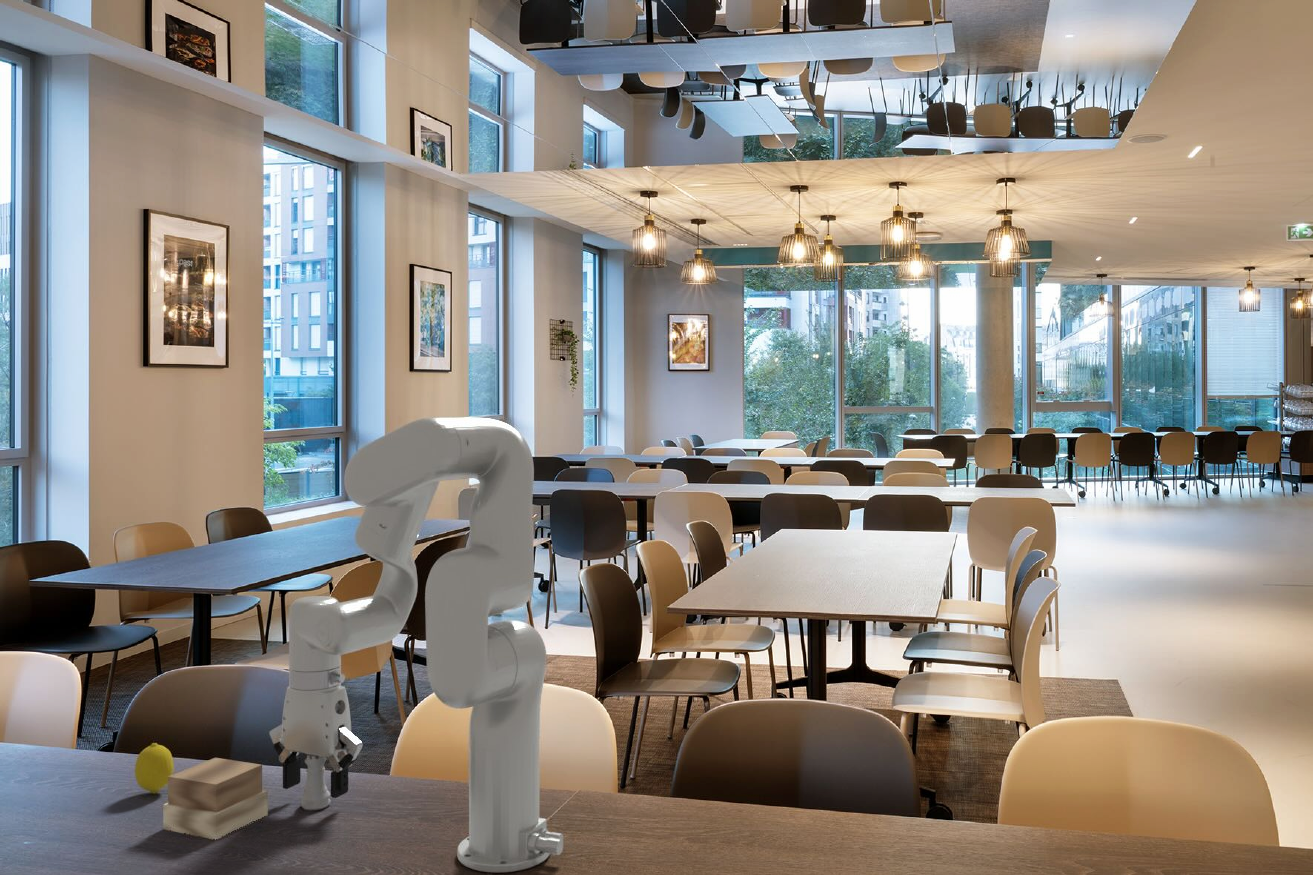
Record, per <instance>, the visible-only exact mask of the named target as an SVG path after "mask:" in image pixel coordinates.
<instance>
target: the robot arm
mask: <svg viewBox="0 0 1313 875" xmlns="http://www.w3.org/2000/svg"><path fill="white" fill-rule="evenodd" d="M534 467H535V465H534V459H533V454H532V451H531V448H530V446H529V444H528V442H527V440H526V439H525V438H524V436H523V435H522V434H521V432H519V431H518V430H517V429H516V428H514V427H513V426H511V425H510V424H508V423H506V422H503V421H501V420H498V419H493V418H488V417H477V416H475V417H474V416H472V417H471V416H457V417H454V416H452V417H450V416H449V417H445V416H444V417H443V416H442V417H439V416H438V417H435V416H434V417H425V418H420V419H415V420H413V421H410V422H408V423H407V424H404V425H402V426H400V427H398V428H396V429H395V430H393V431H391V432H389V433H386V434H385V435H383V436H380V437H378V438H377V439H374V440H372V441H371V442H369V443H367V444H365V445H363V446H362V447H361V448H359V449H358V450H357V451H356V452H355V453H354V454H353V455H352V456H351V457H350V459H349V461H348V463H347V465H346V468H345V471H344V476H343V477H344V478H343V481H344V482H343V484H344V489H345V492H346V494H347V496H348V497H349V499H350V500H351V501H353V503H355V504H356V505H358V506H361V507H364V509H363V512H362V515H361V517H360V520H359V523H358V525H357V528H356V531H355V533H354V540H355V543H356V545H357V547H358V548H359V549H360V551H362V552H363V553H365V554H366V555H368V556H369V557H371V558H372V559H375V560H377V561H378V562H379V561H380V562H382V571H381V576H380V578H379V581H378V584H377V586H376V589H375V591H374V593H373V594H372V595H369V596H365V597H360V598H356V599H355V598H354V599H350V600H347V601H341V602H339V600H338V599H337V598H336V597H333V596H330V595H329V596H327V595H314V596H313V595H311V596H304V597H303V596H302V597H299V598H297V599H294V600H293V601H292V603H291V604H289V605H290V606H289V609H288V611H289V612H288V652H289V653H288V655H289V656H288V657H289V658H288V661H289V662H288V666H289V667H288V679H289V680H288V682H289V684H288V686H287V688H286V691H285V695H284V701H283V709H282V719H281V720H282V721H281V722H282V723H281V724H280V725H278V726H276V727H275V728H273V729H271V730H270V731H269V737H270V738H271V741H272V743H273V748H274V750H275V752H276V753H277V755H278V760H279V762H280V763H282V788H283V789H284V790H288V789H290V788H292V787H294V786H297V785H299V784H300V783H301V757H299V756H298V755H299V754H306V755H307V754H310V755H316V756H323V757H326V758H327V759H328V761H329V763H330V765H331V766H332V769H333V770H332V771H331V772H330V795H331V796H330V797H331V798H333V799H337V798H338V797H340V796H343V795H344V794H347V793H348V791H349V768H350V767H352V766H353V764H354V762H355V761H356V760H358V756H359V754H360V752H361V750H362V748H363V747H364V745H363V742H362V741H361V740H360V739H359V738H358V737H357V736H355V735H354V734H353V733H352V722H351V712H350V710H351V709H350V704H349V698H348V693H347V690H346V687H345V686H343V685H342V683H344V682H345V680H346V675H345V674H344V673H342V668H341V667H342V663H341V662H342V655H345V654H350V653H354V652H357V651H361V650H365V649H367V648H368V649H369V648H372V647H375V646H376V647H377V646H379V645H383V644H386V643H389V642H391V641H392V640H394V639H395V638H396V637H397V636H399V634H400V633H401V631H402V630H403V628H404V626H405V625H406V622H407V621H408V618H409V616H410V613H411V611H412V609H413V606H414V603H415V602H416V598H417V595H418V594H417V593H418V583H419V582H418V574H417V566H416V563H415V560H414V557H413V555H412V554H413V549H414V546H415V544H416V542H417V540H418V537H419V535H420V532H421V528H422V526H423V524H424V522H425V519H426V517H427V514H428V513H429V512H428V511H429V509H430V507H431V504H432V502H433V500H434V497H435V494H436V492H437V490H438V486H439V484H440V482H442V481H443V482H444V481H457V480H467V479H475V480H478V482H479V485H478V486H477V489H476V490H475V492H474V495H473V496H472V501H471V504H470V508H469V515H468V516H469V518H468V519H469V541H468V547H461V548H456V549H453V550H451V551H448V552H446V553H444V554H442V556H440V557H438V559H436V561H435V562H434V564H433V565H432V567H431V568H430V571H429V574H428V578H427V580H426V584H425V593H424V595H425V596H424V602H425V604H424V605H425V606H424V608H425V609H424V610H425V612H424V613H425V642H426V643H425V644H426V645H425V646H426V653H425V654H426V669H427V675H428V681H429V684H430V688H431V689H432V692H433V693H434V695H435V696H436V697H437V699H438V700H439V701H440V702H441V703H442V704H443V705H445V706H447V707H449V708H453V709H456V710H457V709H459V710H462V709H469V708H472V709H471V713H470V719H469V726H468V836H467V837H466V838H464V839H463V840H462V841H460V843H459V844H458V846H457V848H456V849H457V859H458V861H459V862H460V863H461V864H462V865H463V866H465V867H466V868H469V869H470V870H471V869H472V870H474V871H479V872H485V873H512V872H517V871H518V872H519V871H523V870H526V869H530V868H532V867H533V868H534V867H535V866H537V865H539V864H541V863H543V862H545V860H547V859H548V858H549V856H550V855H555V856H559V855H561V854H562V852H563V850H564V834H563V833H559V832H554V831H553V832H552V831H549V830H548V829H547V826H548V824H547V818H544V817H543V818H542V817H540V738H541V737H540V732H541V729H540V727H541V726H540V722H541V721H540V720H541V705H542V702H541V701H542V693H543V688H544V682H545V676H546V670H547V650H546V646H545V642H544V639H543V638H542V635H541V634H540V633H539V631H538V630H537V629H536V628H535V627H533V625H530V624H529V623H527V622H523V621H522V620H521V621H520V620H515V619H514V620H510V619H509V620H500V621H497V622H493V623H490V624H489V618H490V617H495V616H498V615H501V614H505V613H508V612H512V611H515V610H517V609H520V608H521V607H524V606H525V605H526V604H527V603H528V602H529V601H530V599H531V597H532V595H533V594H534V593H533V592H534V586H535V585H534V584H535V583H534V582H535V567H534V566H535V564H534V562H535V561H534V560H535V559H534V558H535V556H534V524H533V498H534V497H533V496H534V495H533V494H534V493H533V492H534V482H535V481H534V480H535V479H534V478H535V475H534V474H535V468H534ZM347 749H348V751H347ZM338 757H339V758H338Z"/></svg>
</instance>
